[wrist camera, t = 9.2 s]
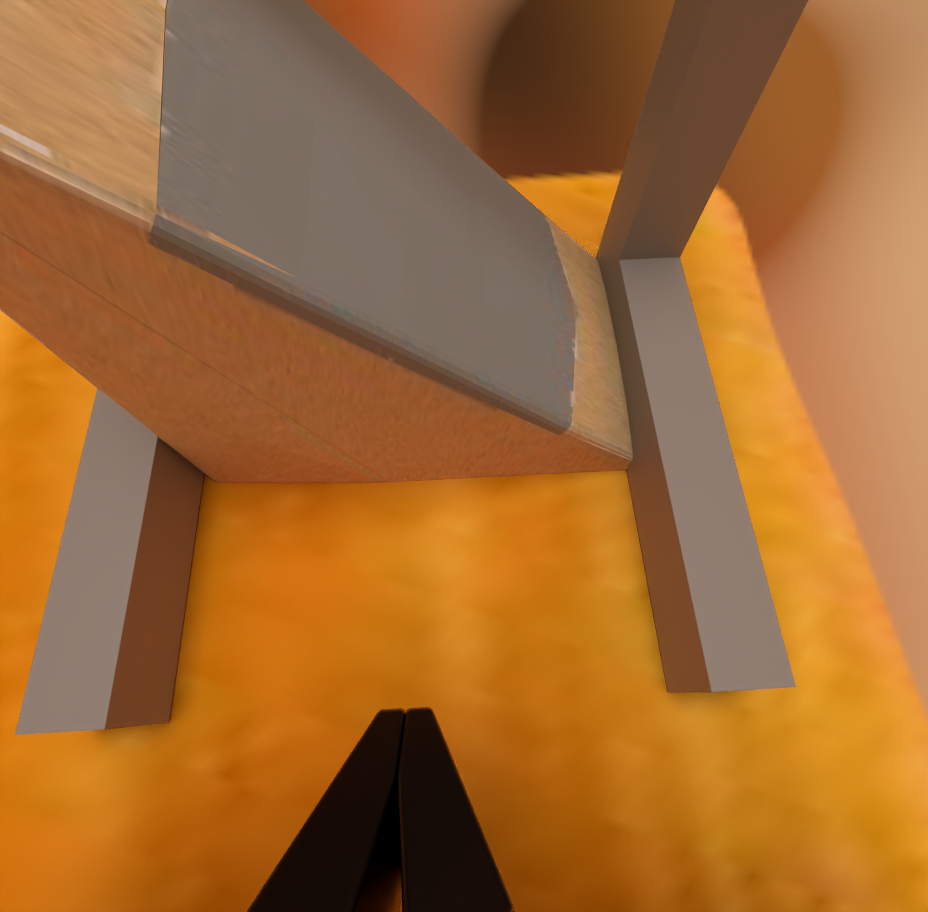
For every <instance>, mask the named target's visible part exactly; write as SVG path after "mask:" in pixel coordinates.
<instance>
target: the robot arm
mask: <svg viewBox="0 0 928 912" xmlns="http://www.w3.org/2000/svg"><path fill="white" fill-rule="evenodd" d="M401 897H402V912H515V911H513V904H512V902H511V899H510V897H509V894H508V892H507V890H506V887H505V885H504V882H503V880H502V877H501V875H500V872H499V870H498V868H497V865H496V863H495V860H494V858H493V855H492V853H491V851H490V848H489V846H488V843H487V841H486V838H485V836H484V833H483V831H482V829H481V826H480V824H479V821H478V819H477V816H476V814H475V811H474V809H473V807H472V804H471V802H470V799H469V797H468V794H467V792H466V790H465V787H464V785H463V782H462V780H461V777H460V775H459V772H458V770H457V768H456V765H455V763H454V760H453V758H452V755H451V753H450V750H449V748H448V746H447V743H446V741H445V738H444V736H443V733H442V731H441V728H440V726H439V724H438V721H437V719H436V716H435V714H434V712H433V710H432V709H431V708H430V707H421V708H409V709H408V710H407V711H406V712H405V710H404V709H402V708H398V709H382V710H380V711H379V712H378V713H377V714H376V716H375V717H374V719H373V720H372V722H371V723H370V725H369V726H368V728H367V730H366V731H365V733H364V734H363V736H362V737H361V739H360V740H359V742H358V743H357V745H356V746H355V748H354V749H353V751H352V752H351V754H350V755H349V757H348V758H347V760H346V761H345V763H344V764H343V766H342V768H341V769H340V771H339V772H338V774H337V775H336V777H335V778H334V780H333V781H332V783H331V784H330V786H329V787H328V789H327V790H326V792H325V793H324V795H323V796H322V798H321V799H320V801H319V802H318V804H317V806H316V807H315V809H314V810H313V812H312V813H311V815H310V816H309V818H308V819H307V821H306V822H305V824H304V825H303V827H302V828H301V830H300V831H299V833H298V834H297V836H296V837H295V839H294V840H293V842H292V843H291V845H290V847H289V848H288V850H287V851H286V853H285V854H284V856H283V857H282V859H281V860H280V862H279V863H278V865H277V866H276V868H275V869H274V871H273V872H272V874H271V875H270V877H269V878H268V880H267V881H266V883H265V885H264V886H263V888H262V889H261V891H260V892H259V894H258V895H257V897H256V898H255V900H254V901H253V903H252V904H251V906H250V907H249V909H248V910H247V912H399V911H400V904H401Z"/></svg>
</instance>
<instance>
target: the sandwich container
mask: <svg viewBox="0 0 928 912" xmlns="http://www.w3.org/2000/svg"><path fill="white" fill-rule="evenodd" d="M0 310H1V311H2V312H4V313H5V314H6V315H7V316H9V317H10V318H11V319H12V320H14V321H15V322H16V323H17V324H18V325H20V326H21V327H22V328H23V329H25V330H26V331H27V332H28V333H30V334H31V335H32V336H33V337H35V338H36V339H37V340H38V341H40V342H41V343H42V344H43V345H45V346H46V347H47V348H48V349H50V350H51V351H52V352H53V353H55V354H56V355H57V356H58V357H60V358H61V359H62V360H63V361H64V362H66V363H67V364H68V365H69V366H71V367H72V368H73V369H74V370H76V371H77V372H78V373H79V374H81V375H82V376H83V377H84V378H86V379H87V380H88V381H89V382H91V383H92V384H93V385H94V386H96V387H97V388H98V389H99V390H101V391H102V392H103V393H104V394H106V395H107V396H108V397H109V398H111V399H112V400H113V401H114V402H116V403H117V404H118V405H119V406H121V407H122V408H123V409H124V410H125V411H127V412H128V413H129V414H130V415H132V416H133V417H134V418H135V419H137V420H138V421H139V422H140V423H142V424H143V425H144V426H145V427H147V428H148V429H149V430H150V431H152V432H153V433H154V434H155V435H157V436H158V437H159V438H160V439H162V440H163V441H164V442H165V443H167V444H168V445H169V446H170V447H172V448H173V449H174V450H175V451H177V452H178V453H179V454H180V455H182V456H183V457H184V458H185V459H187V460H188V461H189V462H190V463H192V464H193V465H194V466H195V467H197V468H198V469H199V470H200V471H202V472H203V473H204V474H205V475H207V476H208V477H209V478H210V479H212V480H214V481H216V482H218V483H383V482H400V481H419V480H438V479H457V478H477V477H496V476H515V475H534V474H554V473H573V472H592V471H612V470H627V468H628V466H629V465H630V463H631V462H632V459H633V448H632V441H631V433H630V426H629V418H628V411H627V403H626V397H625V391H624V385H623V379H622V373H621V367H620V361H619V355H618V350H617V343H616V339H615V334H614V329H613V324H612V319H611V314H610V309H609V304H608V299H607V294H606V291H605V287H604V283H603V279H602V275H601V271H600V267H599V263H598V260H597V259H596V258H594V257H593V256H592V255H591V254H590V253H589V252H587V251H586V250H585V249H584V248H583V247H582V246H580V245H579V244H578V243H577V242H576V241H575V240H573V239H572V238H571V237H570V236H569V235H568V234H566V233H565V232H564V231H563V230H562V229H561V228H559V227H558V226H557V225H556V224H555V223H554V222H552V221H551V220H550V219H549V218H548V217H547V216H545V215H544V214H543V213H542V212H541V211H540V210H539V209H537V208H536V207H535V206H534V205H533V204H532V203H531V202H529V201H528V200H527V199H526V198H525V197H524V196H523V195H522V194H520V193H519V192H518V191H517V190H516V189H515V188H514V187H512V186H511V185H510V184H509V183H508V182H507V181H506V180H504V179H503V178H502V177H501V176H500V175H499V174H497V173H496V172H495V171H494V170H493V169H492V168H491V167H490V166H488V165H487V164H486V163H485V162H484V161H483V160H482V159H480V158H479V157H478V156H477V155H476V154H475V153H474V152H472V151H471V150H470V149H469V148H468V147H467V146H466V145H465V144H463V143H462V142H461V141H460V140H459V139H458V138H457V137H456V136H454V135H453V134H452V133H451V132H450V131H449V130H448V129H447V128H446V127H445V126H444V125H442V124H441V123H440V122H439V121H438V120H437V119H436V118H435V117H434V116H432V114H430V113H429V112H428V111H427V110H426V109H425V108H424V107H423V106H421V104H419V103H418V102H417V101H416V100H415V99H414V98H413V97H412V96H411V95H410V94H408V93H407V92H406V91H405V90H404V89H403V88H402V87H401V86H399V85H398V84H397V83H396V82H395V81H394V80H393V79H391V78H390V77H389V76H388V75H387V74H386V73H385V72H383V71H382V70H381V69H380V68H379V67H378V66H377V65H375V64H374V63H373V62H372V61H371V60H370V59H368V58H367V57H366V56H365V55H364V54H363V53H362V52H360V51H359V50H358V49H357V48H356V47H355V46H354V45H353V44H351V43H350V42H349V41H348V40H347V39H346V38H345V37H343V36H342V35H341V34H340V33H339V32H338V31H336V30H335V29H334V28H333V27H332V26H331V25H330V24H329V23H327V22H326V21H325V20H324V19H323V18H322V17H321V16H320V15H319V14H318V13H316V12H315V11H314V10H313V9H312V8H311V7H310V6H309V5H308V4H307V3H306V2H304V1H303V0H0Z"/></svg>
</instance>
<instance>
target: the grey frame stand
mask: <svg viewBox="0 0 928 912" xmlns="http://www.w3.org/2000/svg"><path fill="white" fill-rule="evenodd" d="M807 2H808V0H675V3H674V6H673V9H672V12H671V16H670V19H669V22H668V25H667V29H666V32H665V35H664V39H663V42H662V45H661V48H660V51H659V55H658V58H657V61H656V64H655V68H654V71H653V74H652V77H651V81H650V84H649V88H648V90H647V94H646V97H645V100H644V104H643V107H642V110H641V114H640V117H639V120H638V123H637V126H636V130H635V133H634V136H633V139H632V143H631V146H630V149H629V152H628V156H627V159H626V162H625V165H624V169H623V172H622V175H621V178H620V182H619V185H618V188H617V191H616V195H615V198H614V201H613V204H612V208H611V211H610V214H609V217H608V221H607V224H606V227H605V230H604V234H603V237H602V240H601V243H600V247H599V250H598V253H597V256H596V259H597V260H598V263H599V267H600V271H601V275H602V279H603V283H604V287H605V291H606V294H607V299H608V304H609V309H610V314H611V319H612V324H613V329H614V334H615V339H616V343H617V350H618V355H619V361H620V367H621V373H622V379H623V385H624V391H625V397H626V403H627V411H628V418H629V426H630V433H631V441H632V448H633V459H632V462H631V463H630V465H629V466H628V468H627V475H628V480H629V486H630V491H631V496H632V502H633V507H634V513H635V518H636V523H637V529H638V534H639V540H640V545H641V550H642V556H643V561H644V567H645V572H646V577H647V583H648V588H649V594H650V599H651V604H652V610H653V615H654V621H655V626H656V631H657V637H658V642H659V648H660V653H661V658H662V664H663V669H664V675H665V680H666V685H667V691H668V692H722V691H738V690H754V689H771V688H787V687H796V686H795V682H794V678H793V674H792V671H791V667H790V663H789V660H788V656H787V652H786V649H785V645H784V641H783V637H782V634H781V630H780V626H779V623H778V619H777V615H776V612H775V608H774V604H773V601H772V597H771V593H770V589H769V586H768V582H767V578H766V575H765V571H764V567H763V564H762V560H761V556H760V552H759V549H758V545H757V541H756V538H755V534H754V530H753V527H752V523H751V519H750V515H749V512H748V508H747V504H746V501H745V497H744V493H743V490H742V486H741V482H740V478H739V475H738V471H737V467H736V464H735V460H734V456H733V453H732V449H731V445H730V441H729V438H728V434H727V430H726V427H725V423H724V419H723V416H722V412H721V408H720V404H719V401H718V397H717V393H716V390H715V386H714V382H713V379H712V375H711V371H710V368H709V364H708V360H707V356H706V353H705V349H704V345H703V342H702V338H701V334H700V331H699V327H698V323H697V319H696V316H695V312H694V308H693V305H692V301H691V297H690V294H689V290H688V286H687V282H686V279H685V275H684V271H683V268H682V264H681V260H680V256H681V254H682V252H683V250H684V248H685V246H686V244H687V242H688V240H689V238H690V236H691V234H692V232H693V230H694V228H695V226H696V224H697V222H698V220H699V218H700V216H701V214H702V212H703V210H704V208H705V206H706V204H707V202H708V200H709V198H710V196H711V194H712V192H713V190H714V188H715V186H716V184H717V182H718V180H719V178H720V176H721V174H722V172H723V170H724V168H725V166H726V164H727V161H728V160H729V158H730V156H731V154H732V152H733V150H734V148H735V146H736V144H737V142H738V140H739V138H740V136H741V134H742V132H743V130H744V128H745V126H746V124H747V122H748V120H749V118H750V116H751V114H752V112H753V110H754V107H755V105H756V104H757V102H758V100H759V98H760V95H761V94H762V92H763V90H764V88H765V86H766V83H767V82H768V80H769V78H770V76H771V74H772V72H773V70H774V68H775V66H776V64H777V62H778V60H779V58H780V56H781V54H782V52H783V50H784V48H785V46H786V44H787V42H788V39H789V38H790V36H791V34H792V32H793V29H794V28H795V26H796V24H797V22H798V20H799V18H800V16H801V14H802V12H803V10H804V8H805V6H806V3H807ZM203 478H204V473H203V472H202V471H200V470H199V469H198V468H197V467H195V466H194V465H193V464H192V463H190V462H189V461H188V460H187V459H185V458H184V457H183V456H182V455H180V454H179V453H178V452H177V451H175V450H174V449H173V448H172V447H170V446H169V445H168V444H167V443H165V442H164V441H163V440H162V439H160V438H159V437H158V436H157V435H155V434H154V433H153V432H152V431H150V430H149V429H148V428H147V427H145V426H144V425H143V424H142V423H140V422H139V421H138V420H137V419H135V418H134V417H133V416H132V415H130V414H129V413H128V412H127V411H125V410H124V409H123V408H122V407H121V406H119V405H118V404H117V403H116V402H114V401H113V400H112V399H111V398H109V397H108V396H107V395H106V394H104V393H103V392H102V391H101V390H99V389H98V388H97V393H96V397H95V401H94V405H93V409H92V414H91V418H90V422H89V426H88V430H87V435H86V439H85V443H84V447H83V452H82V456H81V460H80V464H79V468H78V473H77V477H76V481H75V485H74V489H73V494H72V498H71V502H70V506H69V510H68V515H67V519H66V523H65V527H64V531H63V536H62V540H61V544H60V548H59V553H58V557H57V561H56V565H55V569H54V574H53V578H52V582H51V586H50V590H49V595H48V599H47V603H46V607H45V611H44V616H43V620H42V624H41V628H40V632H39V637H38V641H37V645H36V649H35V654H34V658H33V662H32V666H31V670H30V675H29V679H28V683H27V687H26V691H25V696H24V700H23V704H22V708H21V712H20V717H19V721H18V725H17V729H16V733H15V735H18V734H35V733H51V732H67V731H84V730H100V729H112V728H121V727H131V726H140V725H150V724H159V723H169V720H170V713H171V706H172V699H173V692H174V685H175V678H176V671H177V663H178V656H179V649H180V642H181V635H182V628H183V621H184V613H185V606H186V599H187V592H188V585H189V578H190V571H191V563H192V556H193V549H194V542H195V535H196V528H197V521H198V514H199V506H200V499H201V492H202V485H203Z"/></svg>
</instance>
